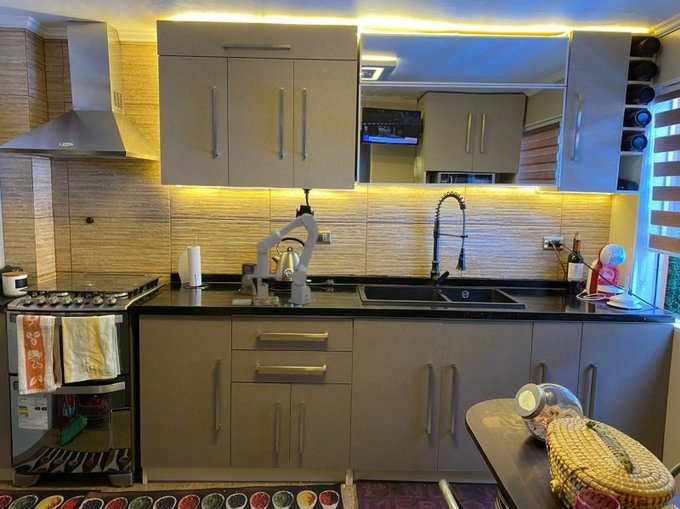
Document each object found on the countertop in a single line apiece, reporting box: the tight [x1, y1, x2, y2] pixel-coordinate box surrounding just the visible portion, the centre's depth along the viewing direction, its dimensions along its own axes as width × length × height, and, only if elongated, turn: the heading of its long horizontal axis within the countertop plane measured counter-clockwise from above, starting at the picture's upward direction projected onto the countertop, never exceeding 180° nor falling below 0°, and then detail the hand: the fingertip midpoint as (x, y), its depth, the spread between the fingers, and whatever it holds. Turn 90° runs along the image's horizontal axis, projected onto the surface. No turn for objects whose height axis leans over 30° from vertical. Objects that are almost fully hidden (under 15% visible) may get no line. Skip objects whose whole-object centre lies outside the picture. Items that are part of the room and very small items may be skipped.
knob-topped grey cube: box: [257, 283, 269, 300], centre depth 230 cm, size 5×5×7 cm
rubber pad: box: [231, 298, 252, 306], centre depth 229 cm, size 9×9×1 cm
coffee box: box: [241, 262, 262, 296], centre depth 252 cm, size 9×6×16 cm
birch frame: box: [253, 296, 280, 306], centre depth 230 cm, size 12×10×2 cm
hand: (262, 293), depth 230 cm, fingers closed on knob-topped grey cube, 5 cm apart
